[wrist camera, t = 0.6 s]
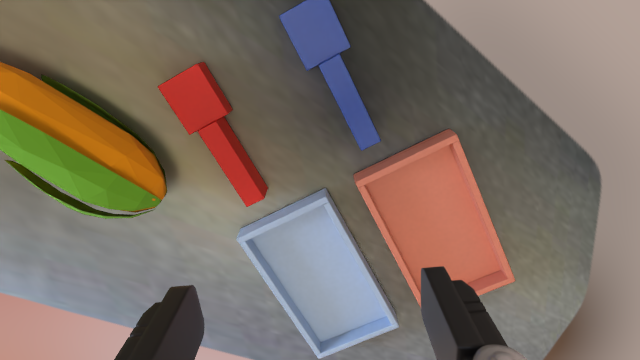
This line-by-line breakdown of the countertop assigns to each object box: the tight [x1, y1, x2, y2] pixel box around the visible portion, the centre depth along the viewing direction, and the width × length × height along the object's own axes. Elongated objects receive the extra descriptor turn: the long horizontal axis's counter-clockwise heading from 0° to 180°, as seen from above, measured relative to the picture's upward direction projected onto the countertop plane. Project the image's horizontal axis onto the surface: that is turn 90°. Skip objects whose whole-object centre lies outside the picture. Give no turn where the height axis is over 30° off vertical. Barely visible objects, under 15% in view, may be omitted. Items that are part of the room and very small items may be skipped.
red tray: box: [354, 129, 515, 307], centre depth 35 cm, size 16×9×2 cm, turn 28°
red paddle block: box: [158, 62, 268, 207], centre depth 32 cm, size 12×4×2 cm, turn 28°
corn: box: [0, 62, 167, 219], centre depth 29 cm, size 7×8×20 cm
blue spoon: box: [279, 0, 381, 151], centre depth 30 cm, size 12×4×2 cm, turn 28°
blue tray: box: [237, 188, 399, 359], centre depth 37 cm, size 16×9×2 cm, turn 28°
